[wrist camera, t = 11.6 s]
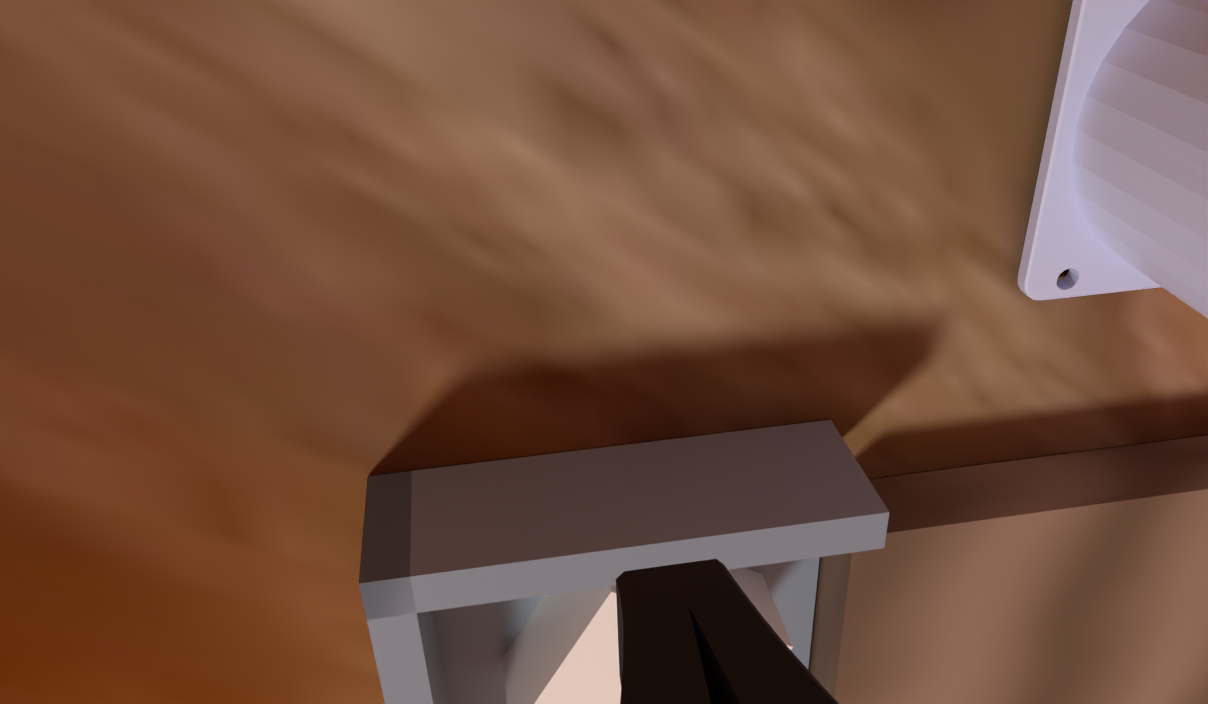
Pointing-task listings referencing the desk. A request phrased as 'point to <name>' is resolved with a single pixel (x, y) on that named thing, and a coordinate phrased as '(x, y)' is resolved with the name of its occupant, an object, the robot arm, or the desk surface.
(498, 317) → the desk surface
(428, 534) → the box
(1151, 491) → the platform
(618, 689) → the tile
